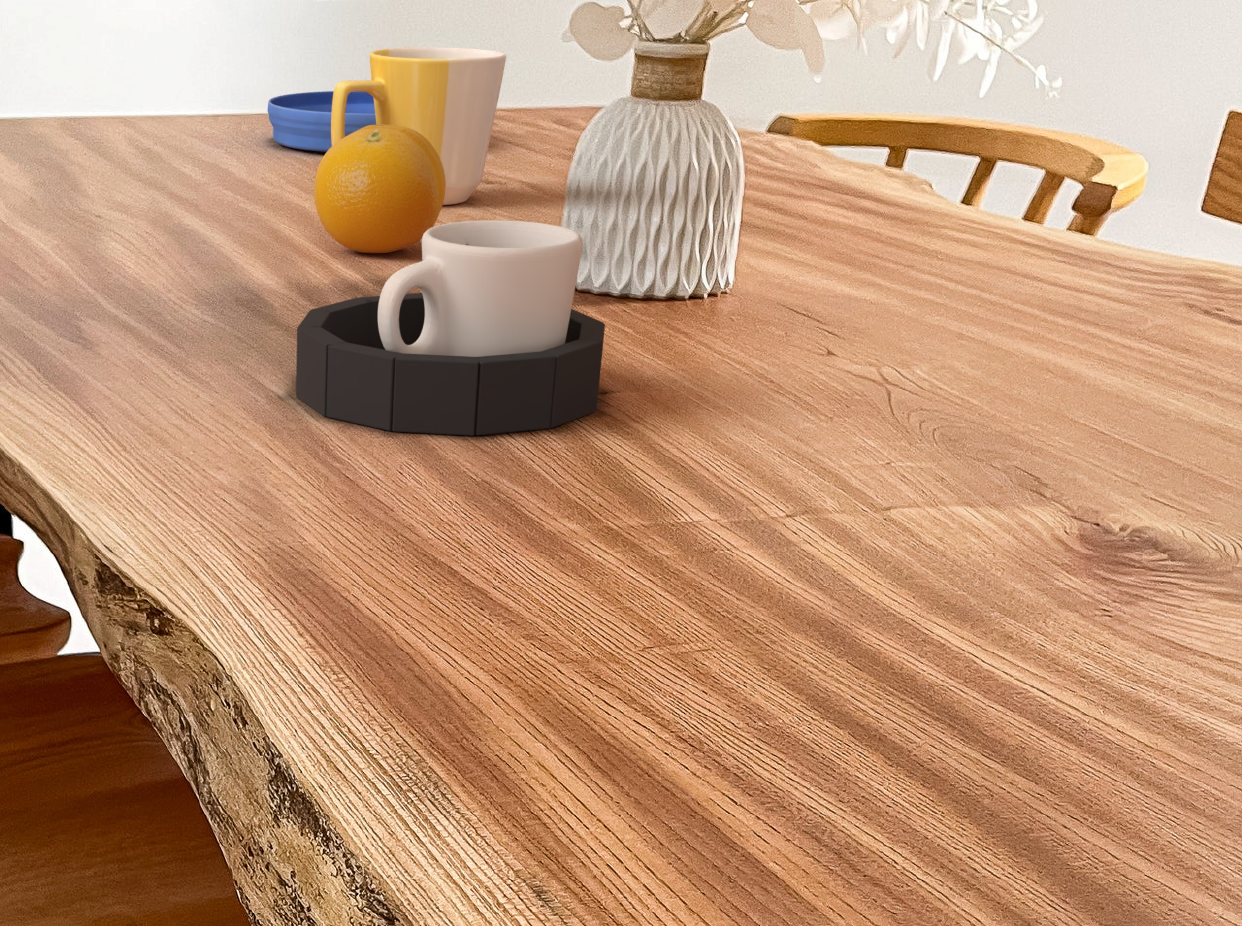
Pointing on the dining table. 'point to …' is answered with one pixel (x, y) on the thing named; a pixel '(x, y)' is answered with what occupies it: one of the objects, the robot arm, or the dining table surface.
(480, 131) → the mug
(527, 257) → the cup
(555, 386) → the ring
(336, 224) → the fruit
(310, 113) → the bowl
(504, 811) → the dining table surface
